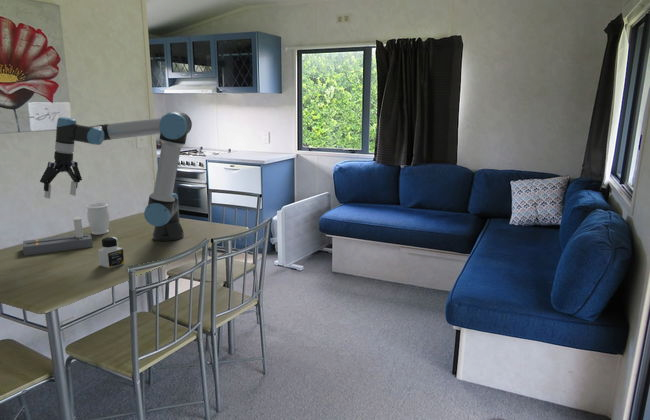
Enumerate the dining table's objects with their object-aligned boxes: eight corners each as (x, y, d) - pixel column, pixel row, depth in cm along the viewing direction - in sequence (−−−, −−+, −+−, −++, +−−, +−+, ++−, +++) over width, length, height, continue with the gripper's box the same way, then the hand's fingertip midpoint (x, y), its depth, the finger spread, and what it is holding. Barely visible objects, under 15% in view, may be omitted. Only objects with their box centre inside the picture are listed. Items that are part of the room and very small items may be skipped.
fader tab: (82, 238, 230) (80, 216, 228) (83, 241, 225) (81, 219, 223) (75, 239, 229) (73, 217, 226) (76, 242, 224) (74, 219, 221)
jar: (102, 236, 243) (99, 207, 239) (84, 234, 245) (81, 206, 241) (115, 230, 253) (112, 203, 249) (98, 229, 255) (95, 202, 251)
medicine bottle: (109, 268, 197) (106, 241, 194) (99, 265, 201) (96, 238, 198) (124, 263, 203) (122, 237, 200) (114, 260, 206) (111, 234, 204)
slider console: (90, 240, 235) (89, 232, 234) (92, 246, 225) (91, 238, 224) (24, 249, 221) (23, 240, 220) (23, 255, 211) (22, 246, 210)
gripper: (80, 149, 228) (77, 191, 232) (32, 150, 205) (29, 197, 209) (92, 153, 225) (88, 195, 230) (45, 153, 202) (41, 201, 207)
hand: (60, 196), depth 220 cm, fingers open, 13 cm apart
